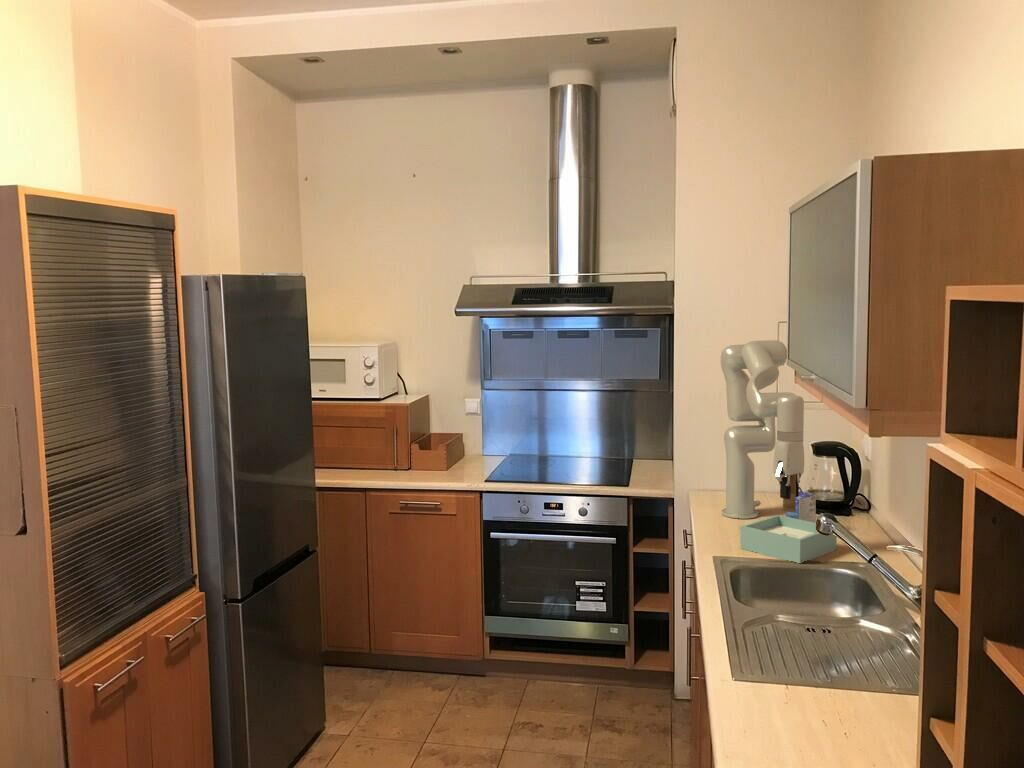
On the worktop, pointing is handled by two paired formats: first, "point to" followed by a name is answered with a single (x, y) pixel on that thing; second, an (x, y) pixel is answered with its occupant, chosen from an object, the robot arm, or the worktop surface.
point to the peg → (790, 504)
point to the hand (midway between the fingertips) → (789, 496)
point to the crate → (786, 539)
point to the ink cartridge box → (804, 507)
